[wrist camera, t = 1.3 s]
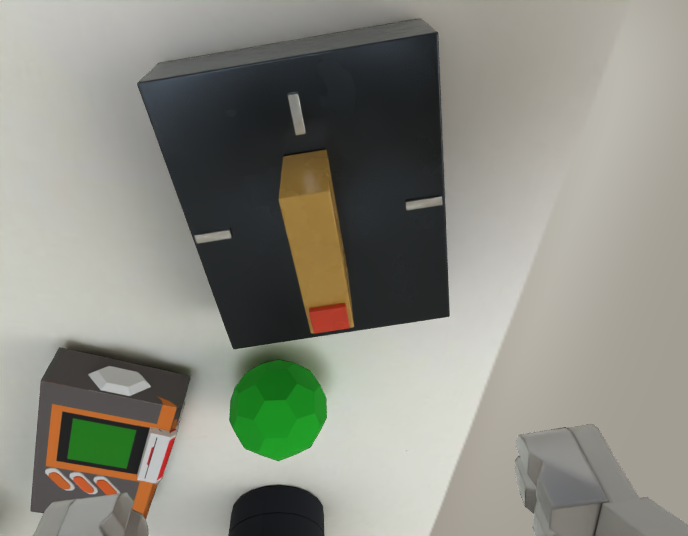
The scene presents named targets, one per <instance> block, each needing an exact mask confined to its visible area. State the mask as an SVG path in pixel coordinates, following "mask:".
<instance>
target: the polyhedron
mask: <svg viewBox="0 0 688 536" xmlns="http://www.w3.org/2000/svg"><path fill="white" fill-rule="evenodd" d="M326 418H327V406H326V397H325V394H324V392H323V390H322V388H321V386H320V384H319V383H318V381H317V380H316V378H315V377H314V376H313V374H312V373H311V371H310V370H308V369H306V368H304V367H302V366H300V365H298V364H296V363H293V362H288V361H283V360H275V361H271V362H266V363H262V364H260V365H258V366H257V367H255V368H253V369H251V370H250V371H248V372H247V373H246V374H245V375H244V376H243V378H242V379H241V380H240V382H239V383H238V384H237V385H236V387H235V389H234V392H233V395H232V398H231V402H230V419H229V421H230V423H231V425H232V428H233V430H234V431H235V433H236V435H237V436H238V438H239V440H240V442H241V443H242V445H243V447H244V448H245V449H247V450H249V451H252V452H254V453H257V454H259V455H262V456H265V457H268V458H271V459H273V460H276V461H280V460H283V459H285V458H288V457H291V456H293V455H296V454H298V453H300V452H302V451H304V450H306V449H308V448H310V447H311V446H312V444H313V442H314V441H315V439H316V437H317V436H318V434H319V432H320V430H321V428H322V426H323V424H324V422H325V420H326Z"/></svg>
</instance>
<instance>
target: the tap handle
mask: <svg viewBox="0 0 688 536" xmlns="http://www.w3.org/2000/svg"><path fill="white" fill-rule="evenodd" d="M279 204H280V208H281V212H282V216H283V221H284V225H285V229H286V233H287V237H288V241H289V245H290V249H291V254H292V258H293V262H294V266H295V270H296V274H297V278H298V283H299V287H300V291H301V295H302V299H303V303H304V307H305V311H306V316H307V320H308V324H309V328H310V332H311V333H312V334H313V333H314V334H315V333H322V332H328V331H335V330H342V329H348V328H352V327H354V321H353V312H352V303H351V295H350V286H349V278H348V270H347V265H346V259H345V253H344V247H343V241H342V236H341V230H340V224H339V218H338V213H337V207H336V201H335V195H334V190H333V184H332V178H331V172H330V166H329V161H328V155H327V150H320V151H314V152H308V153H302V154H296V155H290V156H284V157H283V162H282V172H281V181H280V190H279Z"/></svg>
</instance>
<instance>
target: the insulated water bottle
mask: <svg viewBox="0 0 688 536" xmlns="http://www.w3.org/2000/svg"><path fill="white" fill-rule="evenodd" d="M229 536H324V513H323V506H322V504H321V503H320V501H319V500H318V499H317V498H316V497H315V496H313V495H312V494H310V493H309V492H307V491H304V490H301V489H298V488H295V487H287V486H271V487H263V488H260V489H256V490H253V491H251V492H249V493H247V494H245V495H244V496H242V497H240V499H239V500H238V501H237V502H236V503H235V504H234V506H233V510H232V514H231V521H230V529H229Z"/></svg>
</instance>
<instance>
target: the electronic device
mask: <svg viewBox="0 0 688 536" xmlns="http://www.w3.org/2000/svg"><path fill="white" fill-rule="evenodd" d="M190 377H191V376H188V375H183V374H179V373H174V372H170V371H165V370H161V369H156V368H151V367H147V366H142V365H138V364H133V363H129V362H124V361H120V360H115V359H110V358H106V357H101V356H97V355H92V354H88V353H83V352H79V351H74V350H69V349H65V348H60V347H59V349H58V351H57V353H56V354H55V356H54V358H53V360H52V362H51V363H50V365H49V367H48V369H47V370H46V372H45V374H44V376H43V378H42V379H41V386H40V398H39V411H38V423H37V436H36V448H35V461H34V473H33V486H32V498H31V511H32V512H39V513H44V511H45V510H46V509H47V508H48V507H49V506H50V504H51V503H52V502H58V501H65V500H71V499H81V498H88V497H96V496H104V495H111V494H119V493H128V494H129V495H130V497H131V498H132V499H133V501H134V503H133V506H132V509H133V510H135V511H137V512H140V513H142V515H143V516H144V518H145V520H146V517H147V514H148V511H149V508H150V505H151V502H152V499H153V496H154V493H155V490H156V487H157V484H158V482H159V481H160V480H161V479H162V476H163V473H164V470H165V467H166V464H167V461H168V458H169V455H170V452H171V449H172V446H173V443H174V440H175V437H176V434H177V430H178V426H179V422H180V418H181V414H182V411H183V408H184V405H185V401H184V400H185V396H186V392H187V388H188V384H189V380H190Z"/></svg>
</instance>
